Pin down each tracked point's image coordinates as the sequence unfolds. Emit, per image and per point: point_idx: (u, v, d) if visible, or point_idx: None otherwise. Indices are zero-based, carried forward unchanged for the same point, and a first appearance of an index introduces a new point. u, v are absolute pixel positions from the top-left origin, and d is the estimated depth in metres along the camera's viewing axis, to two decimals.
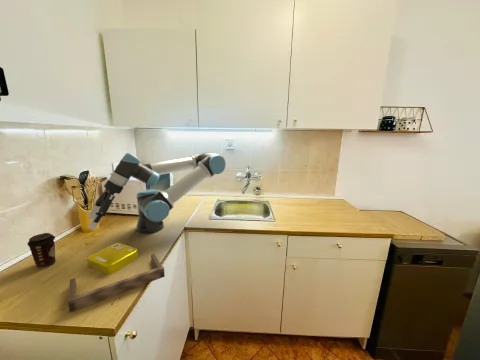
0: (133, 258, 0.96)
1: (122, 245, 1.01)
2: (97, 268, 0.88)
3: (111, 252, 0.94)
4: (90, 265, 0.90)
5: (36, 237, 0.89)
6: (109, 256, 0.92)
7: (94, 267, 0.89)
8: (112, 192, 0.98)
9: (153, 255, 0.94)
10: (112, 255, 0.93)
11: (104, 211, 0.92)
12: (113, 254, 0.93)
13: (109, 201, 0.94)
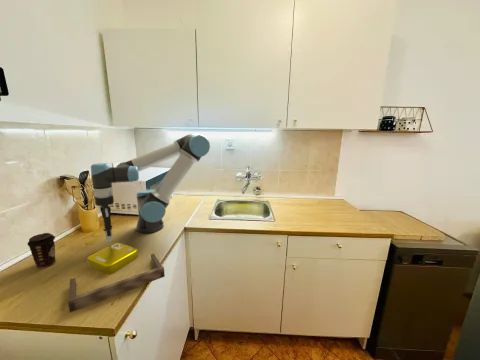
0: (133, 258, 0.96)
1: (122, 245, 1.01)
2: (97, 268, 0.88)
3: (111, 252, 0.94)
4: (90, 265, 0.90)
5: (36, 237, 0.89)
6: (109, 256, 0.92)
7: (94, 267, 0.89)
8: (105, 206, 0.99)
9: (153, 255, 0.94)
10: (112, 255, 0.93)
11: (109, 227, 1.01)
12: (113, 254, 0.93)
13: (108, 218, 0.99)
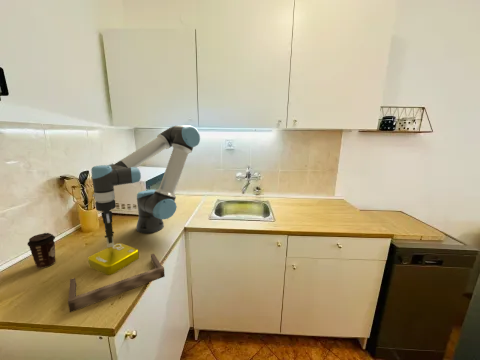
0: (134, 259, 0.95)
1: (123, 245, 1.00)
2: (97, 268, 0.88)
3: (112, 253, 0.94)
4: (91, 265, 0.90)
5: (36, 237, 0.89)
6: (109, 256, 0.91)
7: (94, 267, 0.89)
8: (107, 211, 0.92)
9: (153, 255, 0.94)
10: (113, 255, 0.92)
11: (110, 233, 0.95)
12: (114, 254, 0.93)
13: (109, 224, 0.93)
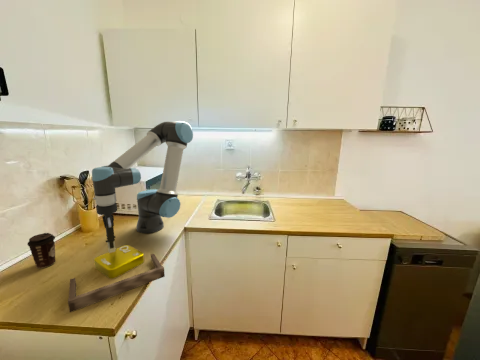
0: (138, 263, 0.92)
1: (130, 248, 0.98)
2: (101, 271, 0.86)
3: (118, 255, 0.92)
4: (96, 267, 0.89)
5: (36, 237, 0.89)
6: (114, 259, 0.89)
7: (99, 269, 0.87)
8: (108, 215, 0.88)
9: (153, 255, 0.94)
10: (118, 258, 0.90)
11: (111, 238, 0.90)
12: (119, 257, 0.91)
13: (110, 229, 0.89)
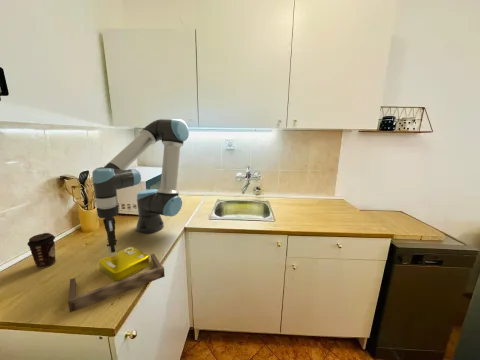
0: (143, 265, 0.90)
1: (135, 250, 0.97)
2: (106, 273, 0.85)
3: (122, 257, 0.91)
4: (101, 269, 0.87)
5: (36, 237, 0.89)
6: (119, 261, 0.88)
7: (104, 272, 0.86)
8: (109, 218, 0.85)
9: (153, 255, 0.94)
10: (123, 260, 0.89)
11: (113, 242, 0.87)
12: (123, 259, 0.89)
13: (112, 233, 0.86)
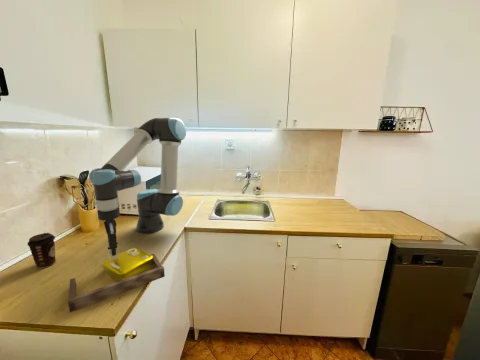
0: (148, 266, 0.90)
1: (138, 251, 0.96)
2: (111, 275, 0.84)
3: (126, 259, 0.90)
4: (105, 271, 0.86)
5: (36, 237, 0.89)
6: (123, 262, 0.87)
7: (108, 273, 0.85)
8: (110, 220, 0.83)
9: (153, 255, 0.94)
10: (127, 261, 0.88)
11: (114, 245, 0.85)
12: (128, 261, 0.88)
13: (113, 235, 0.83)
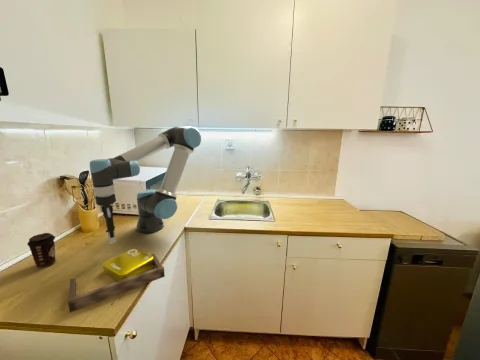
0: (149, 267, 0.89)
1: (138, 251, 0.95)
2: (111, 276, 0.83)
3: (127, 259, 0.89)
4: (105, 272, 0.86)
5: (36, 237, 0.89)
6: (124, 263, 0.87)
7: (109, 275, 0.84)
8: (107, 205, 0.91)
9: (153, 255, 0.94)
10: (128, 262, 0.87)
11: (111, 228, 0.94)
12: (128, 261, 0.88)
13: (110, 219, 0.92)
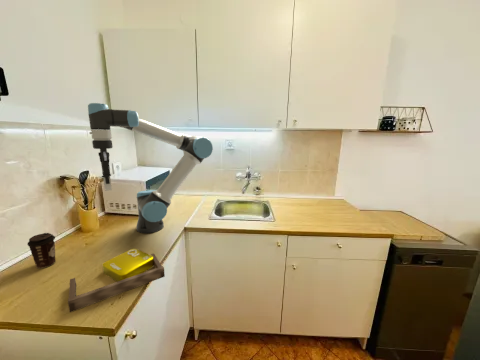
0: (148, 267, 0.90)
1: (138, 251, 0.95)
2: (111, 276, 0.83)
3: (127, 259, 0.89)
4: (105, 272, 0.86)
5: (36, 237, 0.89)
6: (124, 263, 0.87)
7: (108, 275, 0.84)
8: (103, 149, 0.94)
9: (153, 255, 0.94)
10: (128, 262, 0.87)
11: (107, 172, 0.96)
12: (128, 261, 0.88)
13: (106, 162, 0.94)
